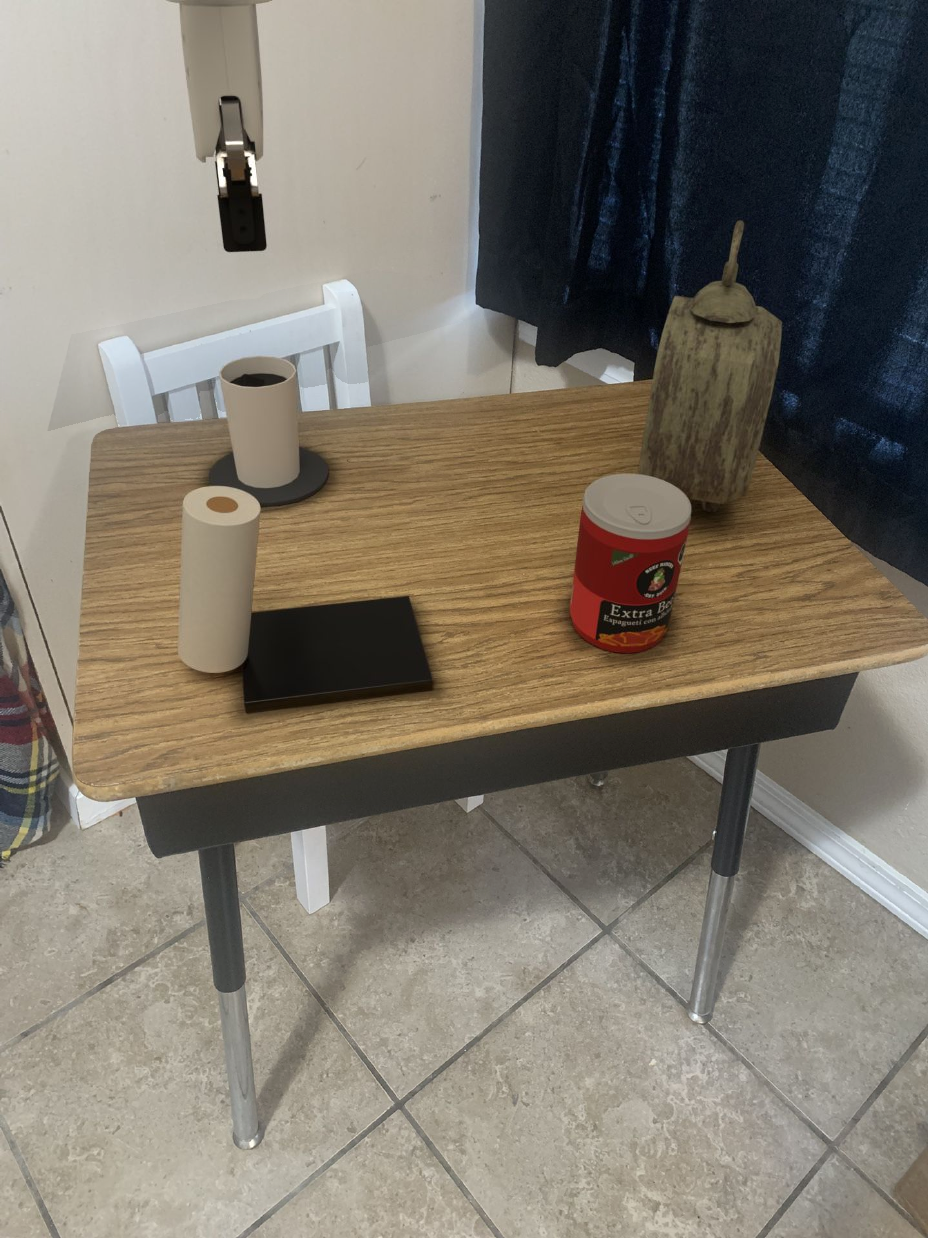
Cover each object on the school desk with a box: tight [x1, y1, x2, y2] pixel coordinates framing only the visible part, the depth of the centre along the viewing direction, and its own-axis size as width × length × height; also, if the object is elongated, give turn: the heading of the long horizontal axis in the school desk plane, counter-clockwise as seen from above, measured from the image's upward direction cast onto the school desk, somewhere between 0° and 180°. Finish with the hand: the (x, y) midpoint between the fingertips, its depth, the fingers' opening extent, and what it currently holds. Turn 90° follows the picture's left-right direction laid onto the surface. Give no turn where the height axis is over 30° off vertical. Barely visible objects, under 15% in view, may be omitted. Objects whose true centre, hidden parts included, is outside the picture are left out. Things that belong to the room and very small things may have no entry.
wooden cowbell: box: [637, 220, 783, 514], centre depth 82 cm, size 14×9×25 cm, turn 164°
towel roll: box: [177, 485, 262, 674], centre depth 66 cm, size 12×5×5 cm
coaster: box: [208, 446, 329, 508], centre depth 92 cm, size 11×11×1 cm
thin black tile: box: [241, 595, 434, 714], centre depth 71 cm, size 13×10×1 cm
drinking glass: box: [218, 355, 300, 488], centre depth 88 cm, size 7×7×10 cm
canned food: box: [569, 473, 692, 654], centre depth 72 cm, size 8×8×11 cm
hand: (243, 230), depth 78 cm, fingers open, 9 cm apart
